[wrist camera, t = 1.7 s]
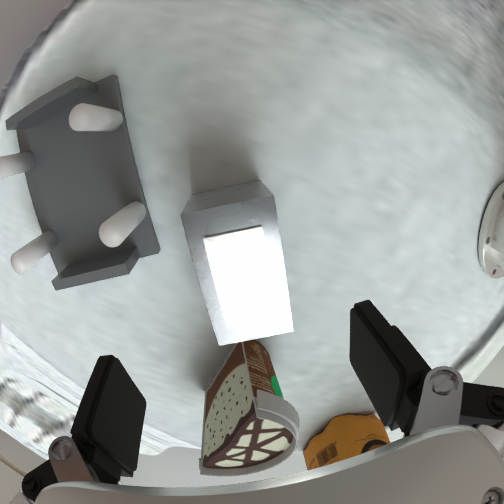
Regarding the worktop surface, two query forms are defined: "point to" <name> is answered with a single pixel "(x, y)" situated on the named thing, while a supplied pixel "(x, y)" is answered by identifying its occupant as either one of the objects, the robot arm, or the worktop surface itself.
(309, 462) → the coffee package
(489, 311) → the worktop surface
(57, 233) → the grey pegged block
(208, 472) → the food container
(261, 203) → the block
